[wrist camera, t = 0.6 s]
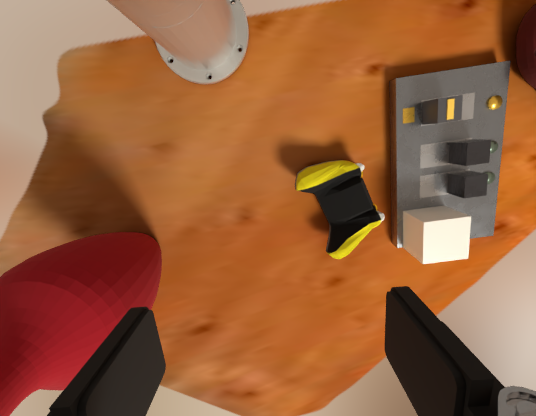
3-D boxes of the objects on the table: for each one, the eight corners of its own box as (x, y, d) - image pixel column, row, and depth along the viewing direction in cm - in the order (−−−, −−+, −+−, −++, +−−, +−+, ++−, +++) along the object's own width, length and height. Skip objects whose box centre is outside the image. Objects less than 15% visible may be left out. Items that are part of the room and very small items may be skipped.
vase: (182, 294, 46) (36, 561, 17) (98, 282, 45) (-200, 539, 17) (188, 216, 42) (12, 393, 13) (96, 202, 41) (-298, 356, 13)
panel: (389, 81, 37) (409, 72, 31) (497, 64, 36) (537, 52, 31) (391, 242, 43) (408, 257, 38) (483, 231, 43) (513, 244, 37)
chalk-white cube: (402, 210, 40) (423, 222, 34) (443, 205, 39) (471, 216, 34) (403, 247, 41) (422, 264, 36) (442, 242, 41) (468, 258, 36)
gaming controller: (326, 251, 44) (381, 226, 43) (334, 267, 39) (397, 239, 37) (287, 173, 40) (346, 143, 39) (290, 179, 35) (358, 144, 34)
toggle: (422, 101, 35) (439, 98, 32) (444, 98, 35) (463, 94, 32) (422, 124, 36) (438, 123, 33) (443, 121, 36) (462, 119, 33)
